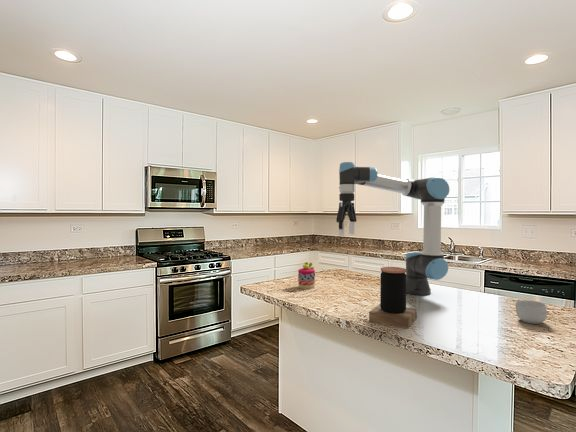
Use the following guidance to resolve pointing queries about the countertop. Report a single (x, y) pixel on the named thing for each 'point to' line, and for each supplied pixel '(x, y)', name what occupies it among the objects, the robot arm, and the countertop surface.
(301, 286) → the cake
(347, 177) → the robot arm
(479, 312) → the countertop surface
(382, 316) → the walnut base block
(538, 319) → the teacup
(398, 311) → the coffee jar
